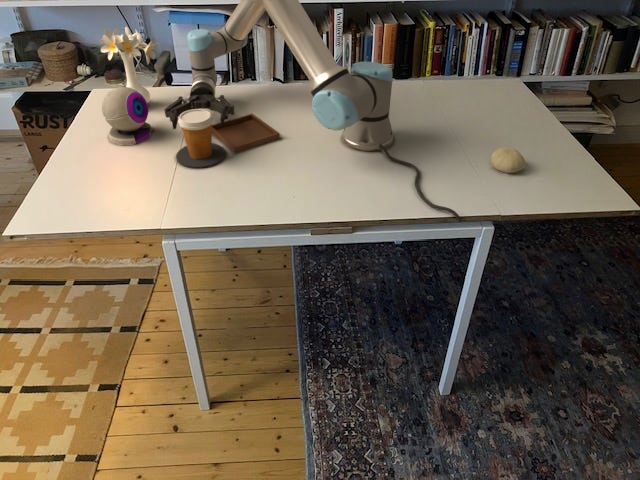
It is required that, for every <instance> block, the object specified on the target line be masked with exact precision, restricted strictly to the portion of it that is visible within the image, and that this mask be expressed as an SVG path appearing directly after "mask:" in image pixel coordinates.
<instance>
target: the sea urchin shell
mask: <svg viewBox="0 0 640 480" xmlns="http://www.w3.org/2000/svg"><path fill="white" fill-rule="evenodd" d="M490 164H491V166H492V168H494V169H496V170H498V171H501V172H503V173H507V174H511V173H512V174H513V173H518V172H520V171H522V170H523V169H524V168H525V166H526V160H525V157H524V156H523V155H522V153H521V152H519V150H517V149H514V148H510V147H501V148H498V149H496V150H495V151H494V152H493V153H492V154H491V157H490Z"/></svg>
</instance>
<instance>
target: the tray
mask: <svg viewBox="0 0 640 480" xmlns="http://www.w3.org/2000/svg"><path fill="white" fill-rule="evenodd" d="M280 133H281V132H279V131H277V130H276V129H274V127H272V126H270V125H269V124H268V123H266V122H265V121H263V120H262V119H261V118H259V117H258V116H256V115H255V114H254V113H249V114H245V115H242V116H238V117H234V118H231V119H228V120H225V121H224V127H221V122H218V123H214V124H212V136H214V137H215V139H217V140H218V141H220V142H221V143H222V144H223V145H224V146H225V147H227V148H228V149H229V150H230V151H232V152H233V153H234V154H237V153H241V152H243V151H247V150H250V149H252V148H253V149H254V148H256V147H258V146H262V145H266V144H268V143H272V142H275V141H278V140H280V139H281V135H280Z"/></svg>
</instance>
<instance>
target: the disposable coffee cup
mask: <svg viewBox="0 0 640 480" xmlns="http://www.w3.org/2000/svg"><path fill="white" fill-rule="evenodd" d="M213 122H214V118H213V116H212V114H211V112H210V111H208V110H207V109H192V110H188V111H185V112H183V113H182V114H180V116H178V122H177V124H178V125H179V126H180V128H181V131H182V134H183V138H184V141H185V144H186V145H185V146H187V148H188V151H189V154H190V157H191V158H193V159H205V158H208V157H209V156H211V154H212V143H213V142H212V141H213V134H212V125H213Z"/></svg>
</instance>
